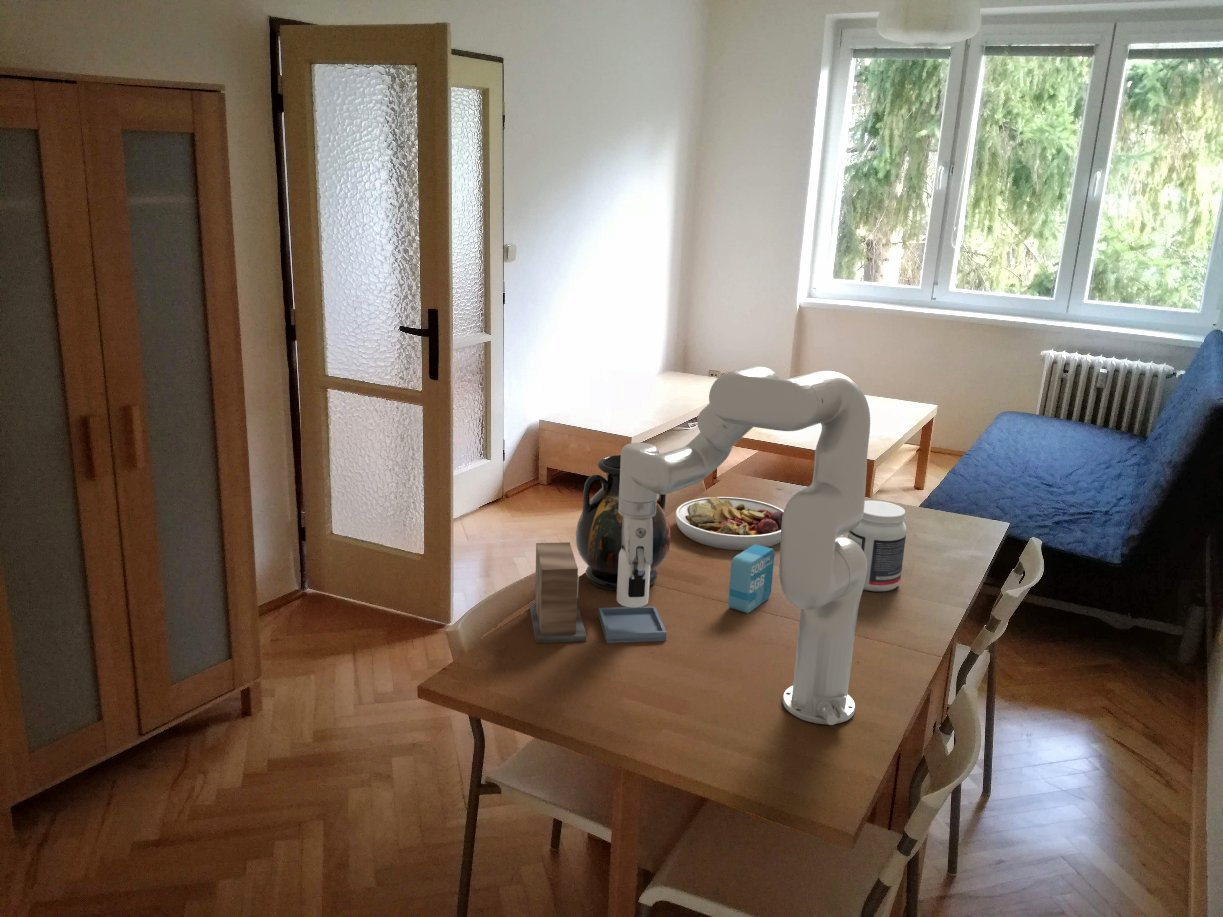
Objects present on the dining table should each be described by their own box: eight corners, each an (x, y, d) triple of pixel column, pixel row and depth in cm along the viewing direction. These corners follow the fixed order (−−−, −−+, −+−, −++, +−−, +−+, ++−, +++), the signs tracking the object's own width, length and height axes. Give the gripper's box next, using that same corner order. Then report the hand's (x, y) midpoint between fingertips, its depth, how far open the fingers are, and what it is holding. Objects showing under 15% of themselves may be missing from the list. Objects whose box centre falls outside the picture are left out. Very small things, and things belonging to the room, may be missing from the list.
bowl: (662, 544, 248) (663, 515, 246) (688, 508, 276) (690, 481, 274) (781, 562, 240) (784, 532, 238) (796, 522, 268) (799, 495, 266)
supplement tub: (903, 578, 233) (913, 505, 227) (894, 598, 222) (904, 521, 216) (849, 567, 238) (857, 495, 233) (837, 586, 227) (845, 511, 221)
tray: (666, 640, 198) (666, 632, 197) (606, 642, 196) (607, 634, 195) (654, 614, 209) (654, 606, 208) (598, 616, 207) (598, 608, 206)
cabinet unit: (586, 641, 196) (588, 570, 192) (536, 643, 194) (537, 571, 190) (576, 606, 211) (578, 540, 207) (529, 608, 210) (531, 541, 205)
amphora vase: (587, 602, 213) (591, 479, 205) (565, 564, 233) (568, 450, 225) (681, 594, 219) (688, 474, 211) (651, 558, 239) (657, 447, 231)
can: (610, 604, 199) (613, 548, 196) (625, 592, 205) (628, 538, 201) (639, 611, 196) (642, 555, 193) (653, 600, 202) (656, 545, 199)
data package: (745, 615, 210) (750, 563, 207) (727, 609, 213) (731, 558, 209) (770, 597, 220) (775, 547, 216) (752, 591, 222) (757, 542, 219)
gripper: (665, 520, 187) (659, 607, 192) (647, 491, 203) (643, 571, 209) (626, 521, 186) (621, 608, 191) (611, 491, 202) (608, 572, 207)
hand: (633, 588), depth 200 cm, fingers closed on can, 6 cm apart
